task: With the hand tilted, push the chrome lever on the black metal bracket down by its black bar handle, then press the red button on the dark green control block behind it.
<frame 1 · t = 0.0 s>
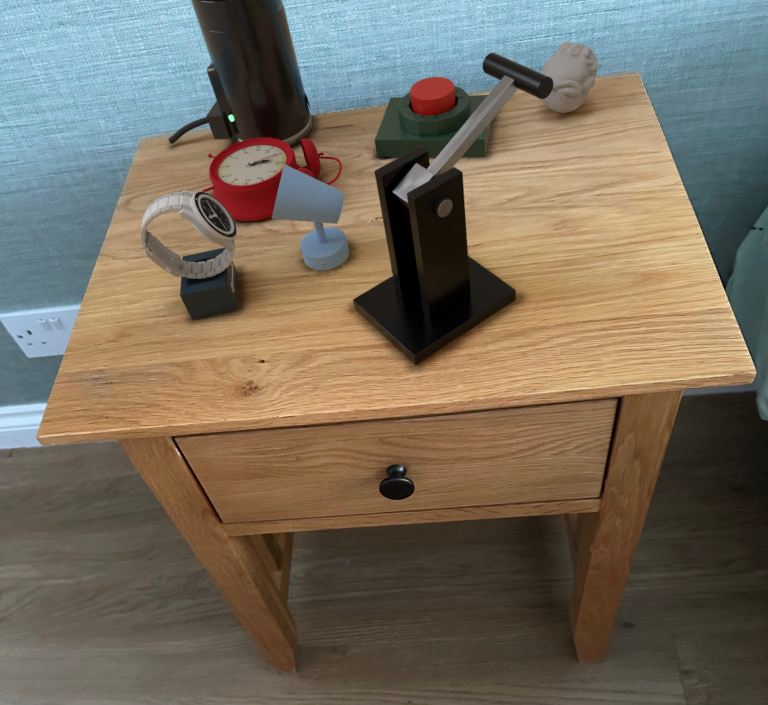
spotlight: (322, 256, 68), on the nightstand
grey rounded piece: (565, 110, 79), on the nightstand
watch: (216, 295, 66), on the nightstand
bracket: (434, 304, 61), on the nightstand
button block: (436, 134, 79), on the nightstand
alarm clock: (276, 193, 76), on the nightstand
button: (432, 96, 76), point 5 cm above the nightstand, slide at 0.1 cm
lever: (465, 137, 52), point 14 cm above the nightstand, hinge at 28.0°
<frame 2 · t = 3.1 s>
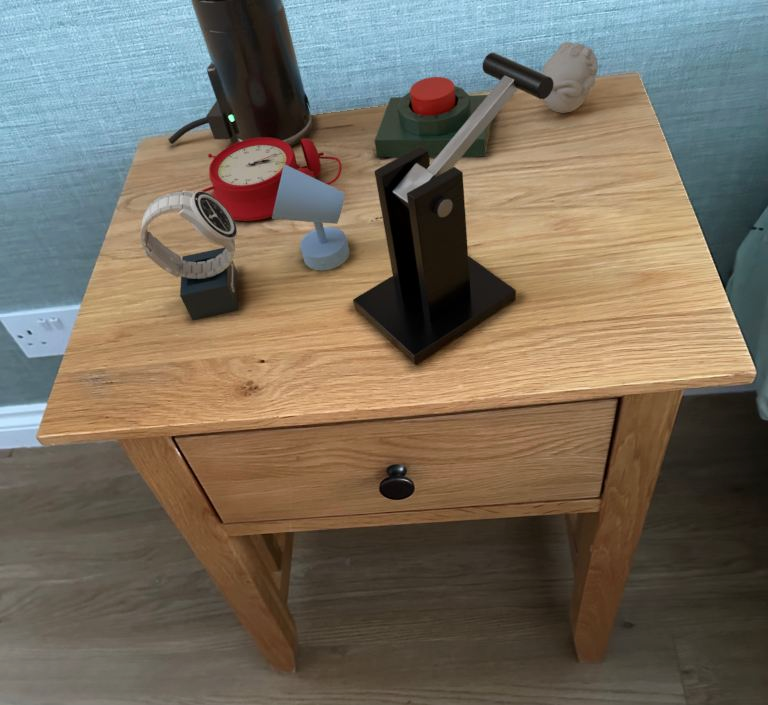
nothing on the nightstand moved.
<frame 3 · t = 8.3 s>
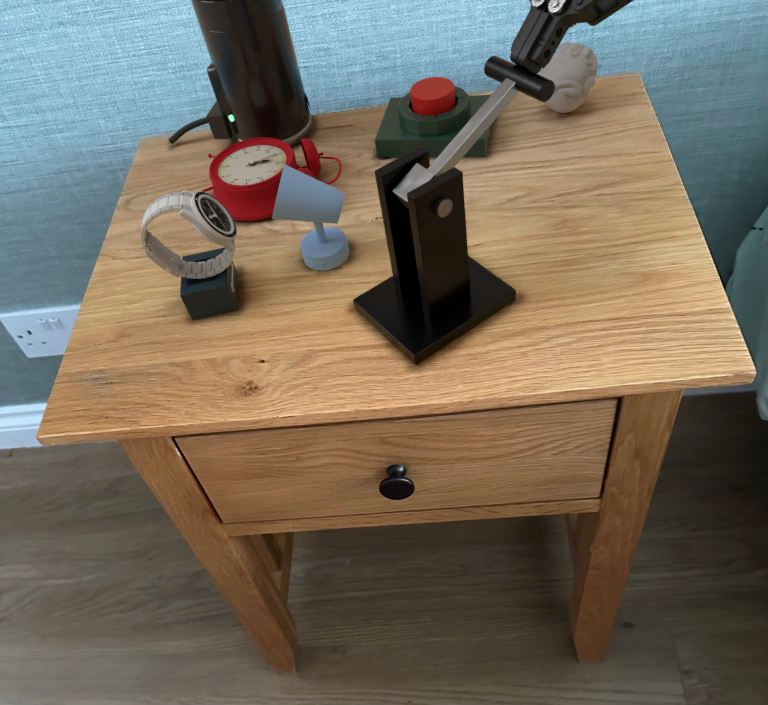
hand: (523, 67, 51), 18 cm above the nightstand, tool tilted 45°, fingers closed
lever: (466, 138, 52), point 14 cm above the nightstand, hinge at 26.2°, touching gripper
everything else where it was.
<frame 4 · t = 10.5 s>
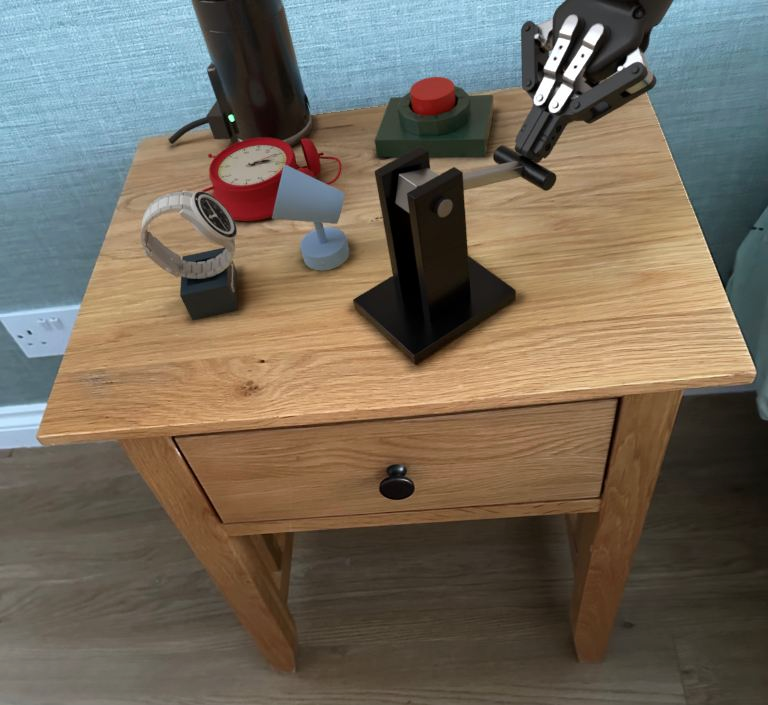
hand: (526, 157, 57), 10 cm above the nightstand, tool tilted 45°, fingers closed
lever: (471, 179, 55), point 10 cm above the nightstand, hinge at -17.0°, touching gripper
everything else where it was.
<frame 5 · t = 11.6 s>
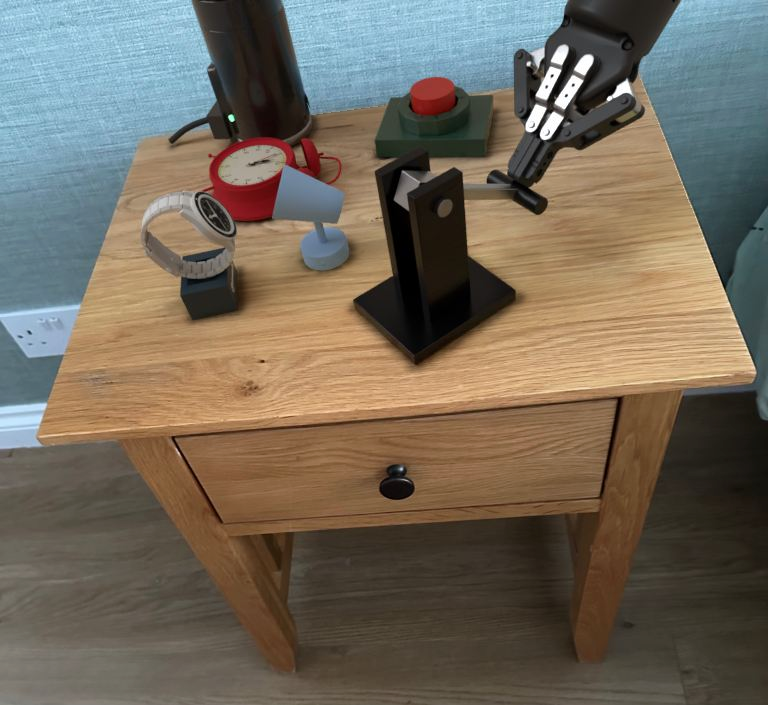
hand: (518, 181, 58), 8 cm above the nightstand, tool tilted 45°, fingers closed
lever: (468, 191, 55), point 10 cm above the nightstand, hinge at -28.2°, touching gripper
everything else where it was.
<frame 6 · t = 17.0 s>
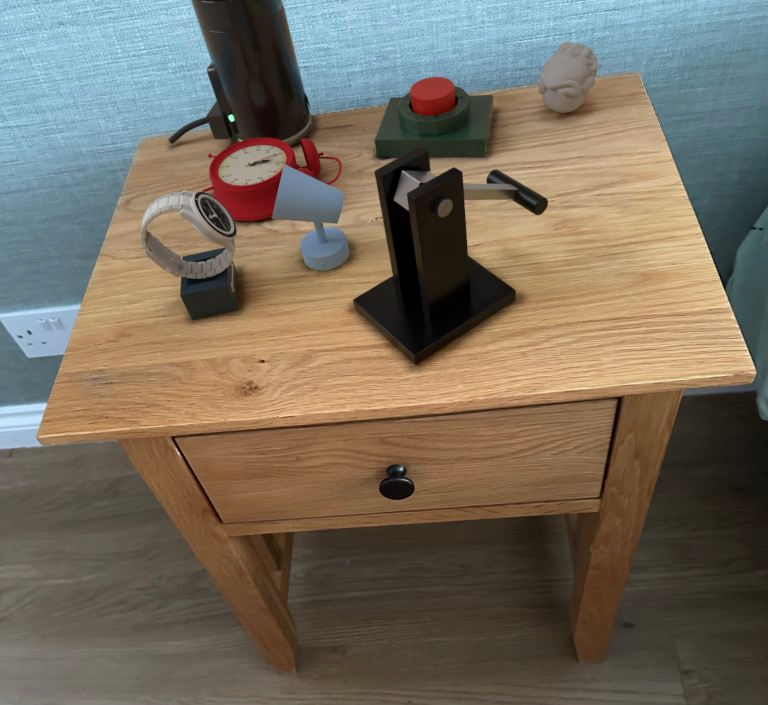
lever: (468, 191, 55), point 10 cm above the nightstand, hinge at -28.3°
everything else where it was.
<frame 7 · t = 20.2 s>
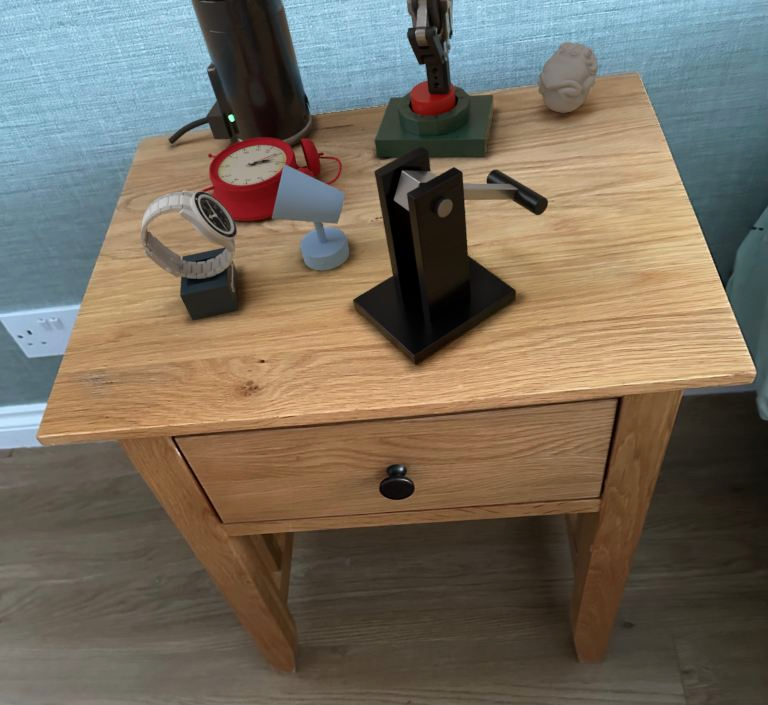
hand: (440, 91, 75), 5 cm above the nightstand, tool pointing down, fingers closed
button: (433, 99, 76), point 4 cm above the nightstand, slide at -0.2 cm, touching gripper
everything else where it was.
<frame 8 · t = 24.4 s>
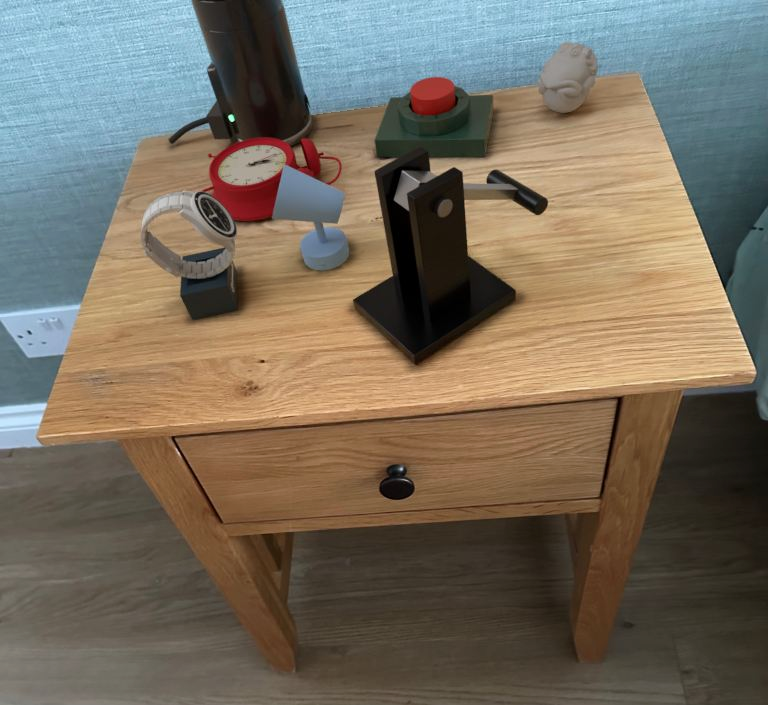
button: (432, 96, 76), point 5 cm above the nightstand, slide at 0.1 cm
everything else where it was.
at the end: lever at -28° (first picture: +28°); button pushed in 0.8 cm at the most during the clip, back to where it started at the end; button slide at 0.1 cm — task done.
